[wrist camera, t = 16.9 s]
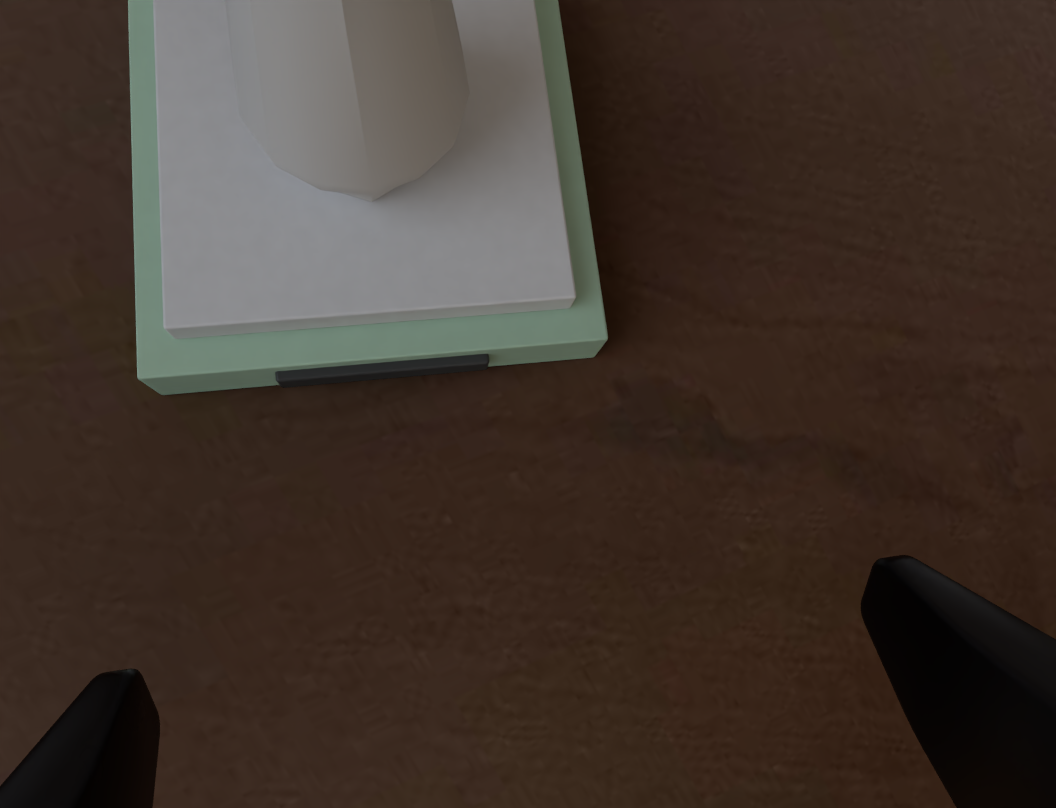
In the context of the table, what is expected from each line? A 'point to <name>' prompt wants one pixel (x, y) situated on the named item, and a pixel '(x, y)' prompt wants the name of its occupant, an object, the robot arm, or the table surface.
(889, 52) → the table surface
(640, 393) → the table surface
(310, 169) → the salt shaker
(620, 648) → the table surface
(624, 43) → the table surface
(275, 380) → the scale
